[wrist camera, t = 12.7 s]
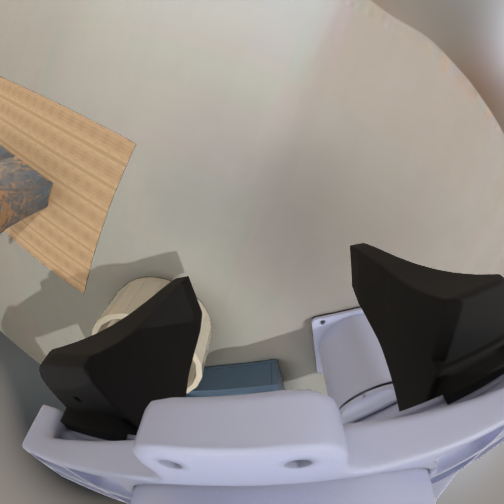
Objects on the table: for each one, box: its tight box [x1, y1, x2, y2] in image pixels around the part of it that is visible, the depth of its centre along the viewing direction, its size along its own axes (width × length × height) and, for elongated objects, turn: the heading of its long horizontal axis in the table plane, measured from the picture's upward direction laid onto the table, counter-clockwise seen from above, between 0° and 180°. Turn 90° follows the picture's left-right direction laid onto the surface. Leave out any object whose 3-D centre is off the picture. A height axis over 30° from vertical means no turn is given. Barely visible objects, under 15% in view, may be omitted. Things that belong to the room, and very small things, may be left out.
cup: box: [92, 277, 211, 394], centre depth 22 cm, size 10×10×6 cm
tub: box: [186, 359, 285, 397], centre depth 28 cm, size 12×12×3 cm
